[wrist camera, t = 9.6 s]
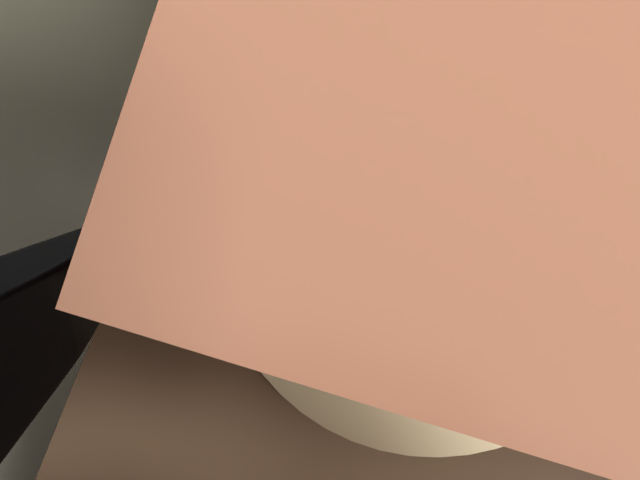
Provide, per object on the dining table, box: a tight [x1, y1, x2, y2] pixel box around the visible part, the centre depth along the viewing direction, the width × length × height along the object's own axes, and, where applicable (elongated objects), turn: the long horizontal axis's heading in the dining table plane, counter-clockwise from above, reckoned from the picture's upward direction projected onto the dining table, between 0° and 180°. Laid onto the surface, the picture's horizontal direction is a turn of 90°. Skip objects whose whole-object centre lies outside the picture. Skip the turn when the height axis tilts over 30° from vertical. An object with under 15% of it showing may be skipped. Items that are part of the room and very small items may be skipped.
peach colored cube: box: [55, 0, 640, 480], centre depth 10 cm, size 6×6×8 cm
